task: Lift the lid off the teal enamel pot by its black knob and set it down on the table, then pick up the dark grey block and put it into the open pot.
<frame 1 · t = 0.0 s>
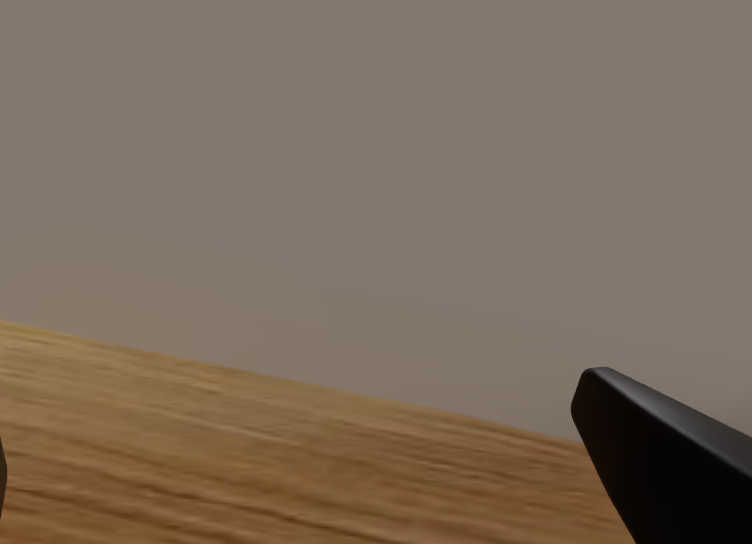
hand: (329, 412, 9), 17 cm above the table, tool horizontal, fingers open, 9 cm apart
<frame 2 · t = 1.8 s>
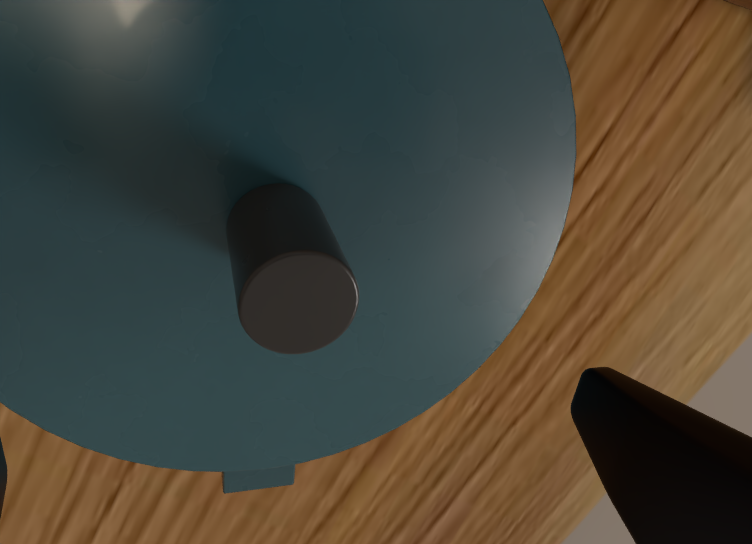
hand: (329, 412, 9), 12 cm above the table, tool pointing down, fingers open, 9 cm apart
pot: (253, 156, 19), on the table
lid: (273, 220, 15), point 5 cm above the table, touching pot
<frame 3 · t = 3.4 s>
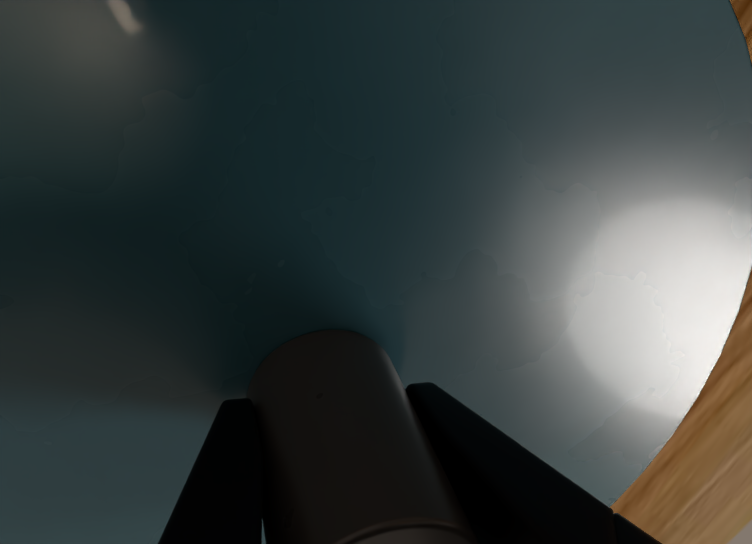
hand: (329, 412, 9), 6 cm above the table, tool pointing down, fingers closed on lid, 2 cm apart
lid: (316, 370, 10), point 5 cm above the table, touching gripper, pot
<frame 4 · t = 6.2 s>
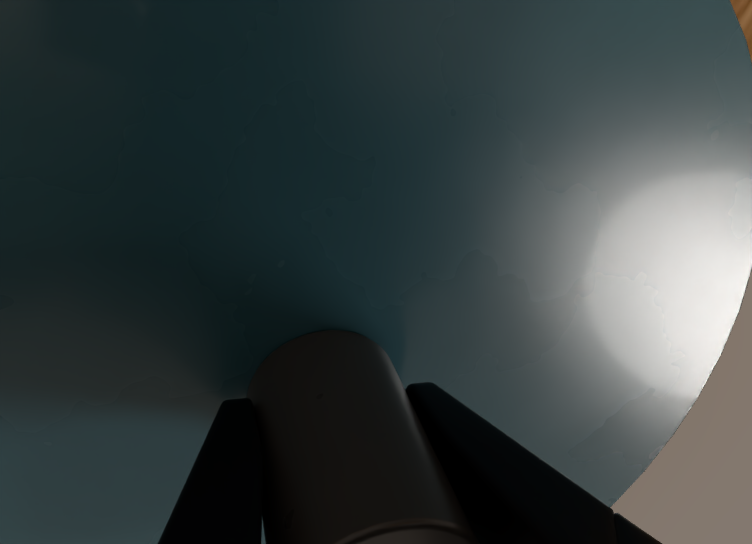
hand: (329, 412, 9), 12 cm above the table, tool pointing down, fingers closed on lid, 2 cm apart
lid: (316, 370, 10), point 11 cm above the table, touching gripper
when the fingers open (2 cm above the table, at t = 9.0 s): lid stays where it is, point 1 cm above the table.
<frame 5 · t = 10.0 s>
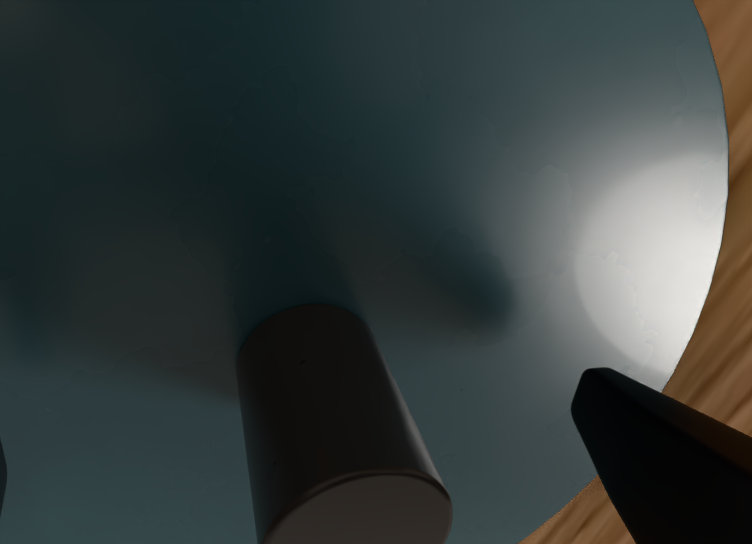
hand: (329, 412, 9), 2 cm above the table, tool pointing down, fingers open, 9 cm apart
lid: (303, 344, 11), point 1 cm above the table
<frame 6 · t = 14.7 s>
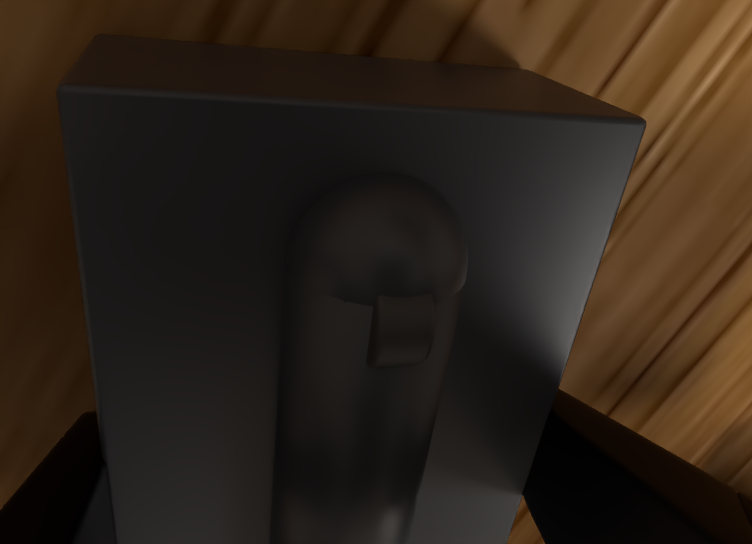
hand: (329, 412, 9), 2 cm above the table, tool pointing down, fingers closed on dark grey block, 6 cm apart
dark grey block: (310, 352, 10), on the table, touching gripper
when the fingers open (2 cm above the table, at t = 20.6 s): dark grey block stays where it is, resting on pot.
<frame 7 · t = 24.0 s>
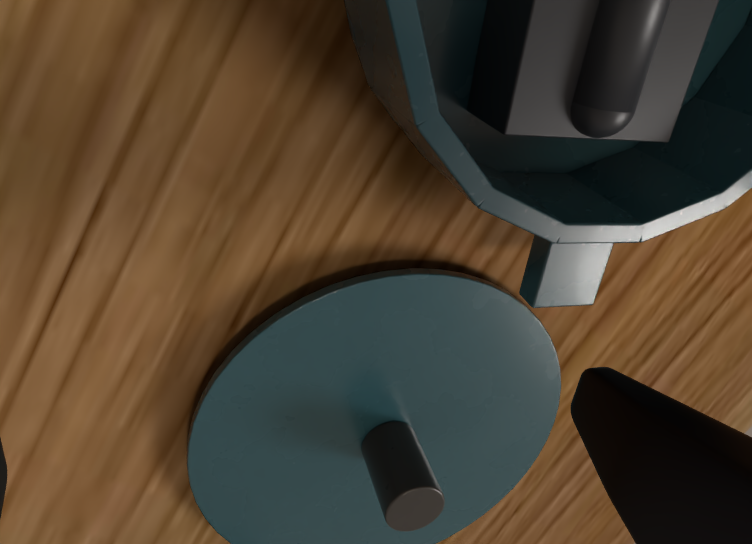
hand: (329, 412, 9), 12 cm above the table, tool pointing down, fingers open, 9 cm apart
lid: (384, 433, 26), point 1 cm above the table
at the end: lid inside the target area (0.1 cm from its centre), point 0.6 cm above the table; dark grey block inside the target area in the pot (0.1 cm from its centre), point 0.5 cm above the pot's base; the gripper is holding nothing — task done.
